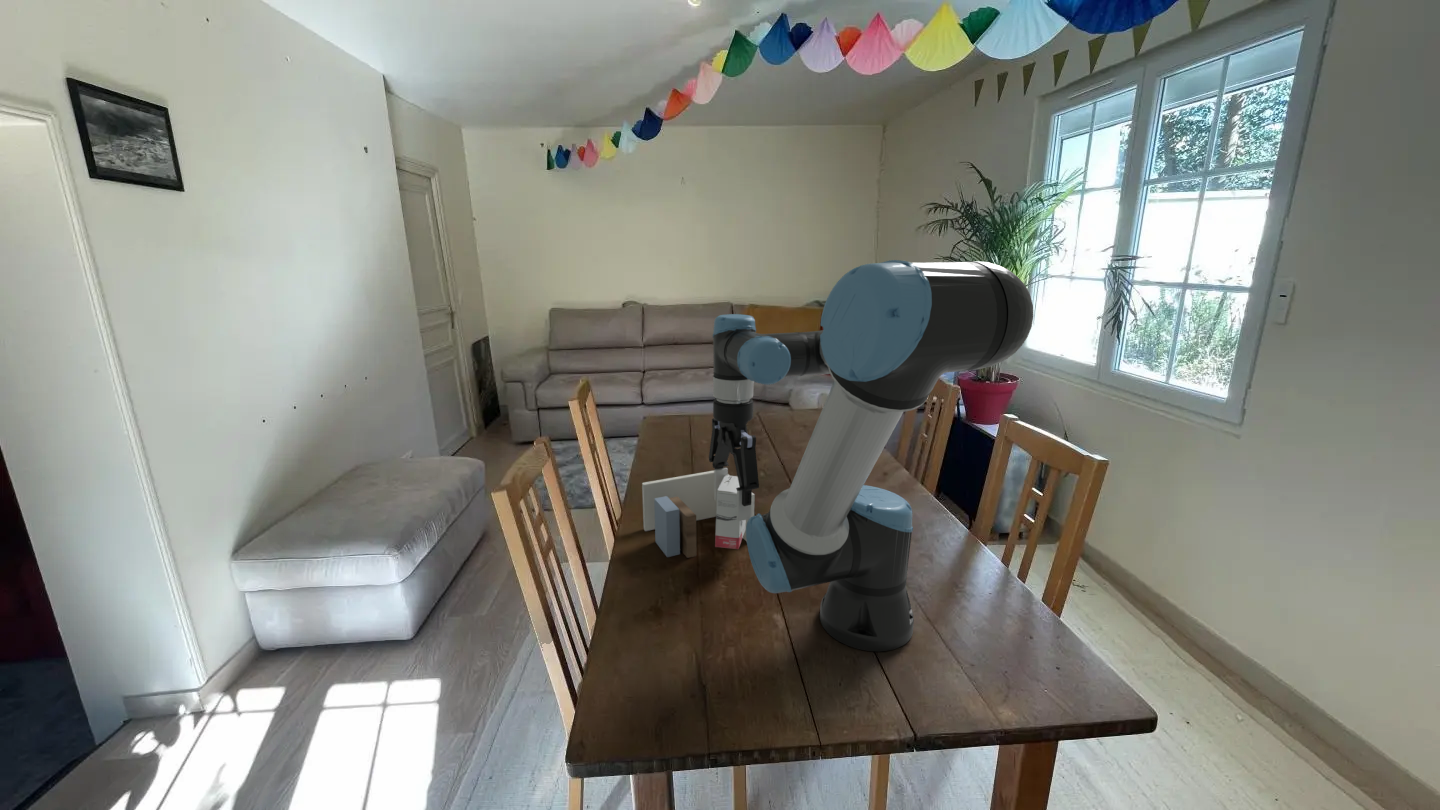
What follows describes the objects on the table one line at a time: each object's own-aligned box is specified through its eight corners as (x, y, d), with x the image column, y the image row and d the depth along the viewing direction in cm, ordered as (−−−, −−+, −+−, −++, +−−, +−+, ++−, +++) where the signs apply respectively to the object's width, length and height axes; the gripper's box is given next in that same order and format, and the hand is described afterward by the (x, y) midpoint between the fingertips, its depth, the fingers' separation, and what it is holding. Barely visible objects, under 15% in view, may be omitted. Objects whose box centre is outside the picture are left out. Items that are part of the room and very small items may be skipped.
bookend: (696, 555, 119) (696, 515, 116) (687, 557, 118) (686, 517, 115) (678, 534, 127) (677, 496, 125) (669, 536, 126) (668, 498, 124)
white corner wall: (753, 542, 124) (754, 494, 121) (668, 562, 116) (667, 511, 113) (721, 512, 138) (721, 469, 135) (643, 528, 130) (642, 482, 127)
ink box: (740, 550, 112) (741, 493, 109) (714, 547, 113) (714, 491, 110) (747, 529, 120) (748, 475, 117) (723, 527, 121) (723, 473, 118)
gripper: (781, 411, 101) (777, 528, 107) (725, 383, 120) (724, 484, 126) (743, 416, 98) (740, 537, 104) (691, 387, 117) (692, 490, 123)
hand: (731, 508), depth 115 cm, fingers closed on ink box, 9 cm apart
